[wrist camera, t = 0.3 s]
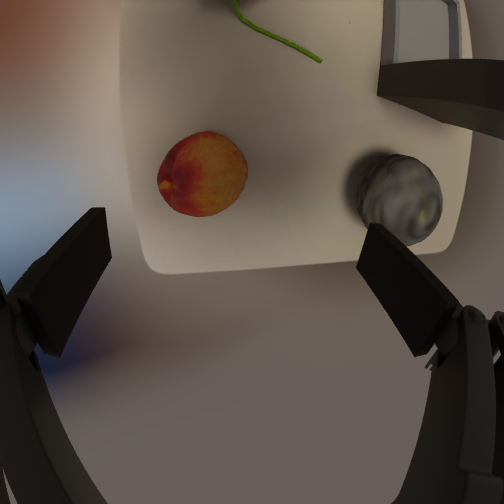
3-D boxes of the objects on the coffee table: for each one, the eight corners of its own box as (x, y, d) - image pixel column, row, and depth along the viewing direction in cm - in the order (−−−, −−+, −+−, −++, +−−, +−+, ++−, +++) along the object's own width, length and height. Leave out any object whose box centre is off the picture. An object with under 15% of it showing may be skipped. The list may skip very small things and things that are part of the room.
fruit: (181, 119, 25) (164, 123, 18) (255, 143, 27) (266, 156, 20) (159, 188, 28) (139, 216, 21) (228, 209, 30) (231, 243, 23)
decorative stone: (417, 159, 29) (471, 183, 20) (395, 228, 33) (437, 267, 25) (354, 136, 27) (405, 153, 18) (332, 216, 32) (369, 259, 23)
